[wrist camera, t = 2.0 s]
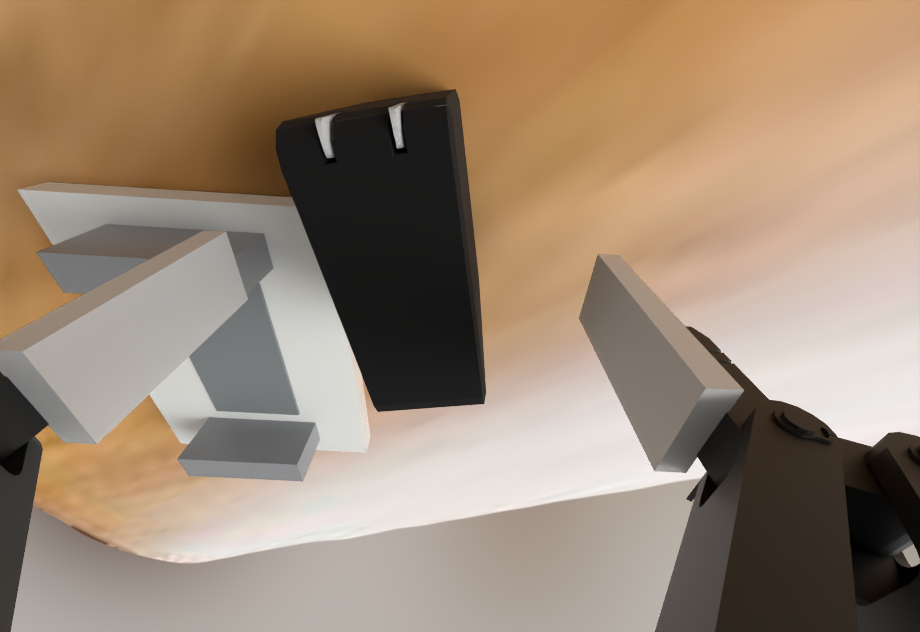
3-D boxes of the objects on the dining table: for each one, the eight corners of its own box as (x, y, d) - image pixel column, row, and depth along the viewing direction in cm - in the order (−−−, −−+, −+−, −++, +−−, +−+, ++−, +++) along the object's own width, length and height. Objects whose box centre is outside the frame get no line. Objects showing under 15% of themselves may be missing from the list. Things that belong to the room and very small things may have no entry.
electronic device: (411, 290, 21) (377, 422, 13) (367, 102, 16) (259, 126, 8) (479, 283, 21) (487, 414, 13) (458, 88, 15) (449, 98, 7)
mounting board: (47, 181, 18) (-77, 212, 14) (337, 200, 18) (298, 234, 14) (192, 428, 29) (147, 485, 25) (370, 436, 30) (354, 494, 25)
